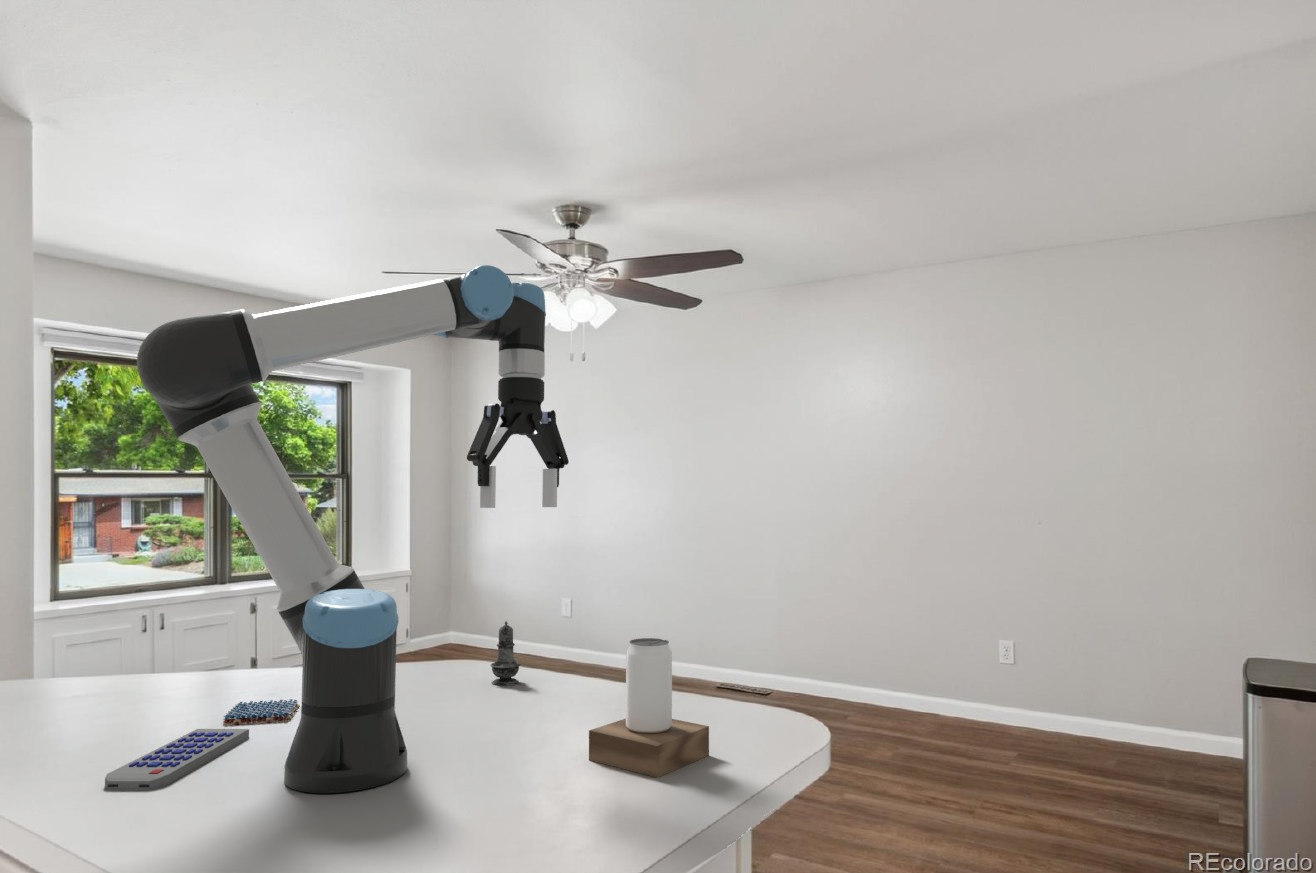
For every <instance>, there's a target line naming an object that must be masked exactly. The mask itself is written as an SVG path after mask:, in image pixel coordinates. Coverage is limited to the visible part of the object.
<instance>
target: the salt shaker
mask: <svg viewBox="0 0 1316 873" xmlns="http://www.w3.org/2000/svg"><path fill="white" fill-rule="evenodd" d="M508 624H509V623H508V621H507V620H506V621H505V622H504V625H503V626H501V627H500V628H499V629H498V643H497V644H496V646H497V657H496V658H497V659H496V660H495V661H494V662H492V663H490V667H491V671H492V673H493V675H494V677H497V678H496V679H494V680H492V681H491V684H492V685H493V686H501V687H502V686H504V687H505V686H514V685H517V684H519V683H520V681H519V680H518V679H516V678H514V677H515V676H516V675H517V674H518V672H519V671H520V666H521V664H522V663H520V662H518V661H517V660H516V659H515V656H514V647H515V645H516V643H514V628H513V627H512V626H510V625H508Z"/></svg>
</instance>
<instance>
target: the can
mask: <svg viewBox="0 0 1316 873" xmlns="http://www.w3.org/2000/svg"><path fill="white" fill-rule="evenodd" d="M669 643H670V641H669V640H668V639H663V638H658V637H657V638H655V637H645V638H643V637H642V638H633V639H631V640H629V646H628V648H627V650H626V662H625V670H626V671H625V719H626V726H627V727H628V729H629V730H630V731H632V732H636V733H644V734H655V733H662V732H665V731H667V730H669V728H670V727H671V725H672V719H673V718H672V715H673V714H672V713H673V709H672V708H673V707H672V706H673V695H672V694H673V655H672V654H673V653H672V650H671V647H670V645H669Z"/></svg>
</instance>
